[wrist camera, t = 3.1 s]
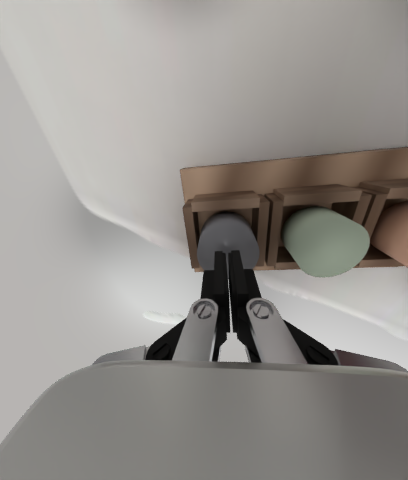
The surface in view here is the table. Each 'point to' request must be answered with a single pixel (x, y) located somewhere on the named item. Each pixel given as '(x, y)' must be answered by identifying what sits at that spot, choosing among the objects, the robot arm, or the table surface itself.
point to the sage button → (324, 241)
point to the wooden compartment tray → (296, 197)
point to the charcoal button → (227, 240)
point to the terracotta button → (393, 232)
